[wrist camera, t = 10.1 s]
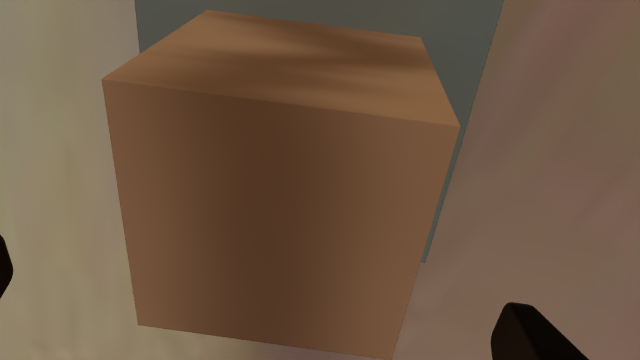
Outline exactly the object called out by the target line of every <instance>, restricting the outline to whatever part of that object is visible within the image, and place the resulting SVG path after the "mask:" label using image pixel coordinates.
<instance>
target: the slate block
mask: <svg viewBox="0 0 640 360" xmlns="http://www.w3.org/2000/svg"><path fill="white" fill-rule="evenodd" d="M503 2H504V0H135V10H136V20H137V29H138V39H139V49H140V54H141V53H142V52H144V51H145V50H147V49H148V48H150V47H151V46H153V45H154V44H156V43H157V42H159V41H160V40H162V39H163V38H165V37H166V36H168V35H169V34H171V33H172V32H174V31H175V30H177V29H179V28H180V27H182V26H183V25H185V24H186V23H188V22H189V21H191V20H192V19H194V18H195V17H197V16H198V15H200V14H201V13H203V12H204V11H206V10H213V11H221V12H229V13H236V14H244V15H252V16H260V17H267V18H275V19H283V20H290V21H298V22H306V23H313V24H321V25H329V26H337V27H344V28H352V29H360V30H367V31H375V32H383V33H390V34H398V35H406V36H413V37H421V40H422V42H423V44H424V46H425V49H426V51H427V53H428V55H429V57H430V60H431V62H432V64H433V66H434V69H435V71H436V73H437V75H438V78H439V80H440V82H441V84H442V86H443V89H444V91H445V93H446V95H447V98H448V100H449V102H450V104H451V107H452V109H453V111H454V113H455V115H456V118H457V120H458V122H459V124H460V130H459V133H458V137H457V140H456V144H455V147H454V150H453V154H452V157H451V160H450V164H449V167H448V171H447V174H446V177H445V181H444V184H443V188H442V191H441V194H440V198H439V201H438V205H437V208H436V211H435V215H434V218H433V221H432V225H431V228H430V232H429V235H428V238H427V242H426V245H425V249H424V252H423V255H422V259H421V262H423V263H425V262H426V258H427V255H428V252H429V249H430V245H431V242H432V239H433V235H434V232H435V229H436V225H437V222H438V219H439V215H440V212H441V209H442V205H443V202H444V199H445V195H446V192H447V189H448V185H449V182H450V179H451V175H452V172H453V169H454V165H455V162H456V159H457V155H458V152H459V149H460V145H461V142H462V139H463V135H464V132H465V129H466V125H467V122H468V119H469V115H470V112H471V109H472V105H473V102H474V99H475V95H476V92H477V89H478V86H479V82H480V79H481V76H482V72H483V69H484V66H485V62H486V59H487V56H488V52H489V49H490V46H491V42H492V39H493V36H494V32H495V29H496V26H497V22H498V19H499V16H500V12H501V9H502V6H503Z"/></svg>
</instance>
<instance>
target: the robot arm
mask: <svg viewBox="0 0 640 360" xmlns="http://www.w3.org/2000/svg"><path fill="white" fill-rule="evenodd" d="M12 275H13V265H12V262H11V259H10V256H9V253H8V250H7V247H6V244H5V241H4V239H3V237H2V236H1V235H0V298H1V297H2V295H3V293H4V292H5V290H6V288H7V287H8V285H9V283H10V281H11V279H12ZM491 351H492V359H493V360H589V359H588V358H587V357H586V356H584V355H583V354H582V353H581V352H580V351H579V350H578V349H577V348H576V347H575V346H574V345H573V344H572V343H571V342H570V341H569V340H568V339H567V338H566V337H565V336H564V335H563V334H562V333H561V332H560V331H558V330H557V329H556V328H555V327H554V326H553V325H552V324H551V323H550V322H549V321H548V320H547V319H546V318H545V317H544V316H543V315H542V314H541V313H540V312H539V311H538V310H537V309H536V308H534V307H533V306H531V305H528V304H521V303H514V302H510V303H507V304H506V305H505V306H504V308H503V310H502V312H501V314H500V317H499V319H498V321H497V323H496V325H495V328H494V330H493V332H492V336H491Z"/></svg>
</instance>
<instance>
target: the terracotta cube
mask: <svg viewBox="0 0 640 360" xmlns="http://www.w3.org/2000/svg"><path fill="white" fill-rule="evenodd" d="M102 85H103V92H104V98H105V105H106V112H107V119H108V125H109V132H110V139H111V146H112V152H113V159H114V166H115V173H116V179H117V186H118V193H119V200H120V206H121V213H122V220H123V227H124V233H125V240H126V247H127V254H128V260H129V267H130V274H131V281H132V287H133V294H134V301H135V308H136V314H137V321H138V325H142V326H149V327H156V328H163V329H170V330H178V331H185V332H192V333H199V334H206V335H214V336H221V337H228V338H235V339H242V340H250V341H257V342H264V343H271V344H278V345H286V346H293V347H300V348H307V349H314V350H322V351H329V352H336V353H343V354H350V355H357V356H365V357H372V358H379V359H386V360H392V357H393V354H394V350H395V347H396V343H397V340H398V337H399V333H400V330H401V327H402V323H403V320H404V316H405V313H406V310H407V306H408V303H409V299H410V296H411V293H412V289H413V286H414V282H415V279H416V276H417V272H418V269H419V266H420V262H421V259H422V255H423V252H424V249H425V245H426V242H427V238H428V235H429V232H430V228H431V225H432V221H433V218H434V215H435V211H436V208H437V205H438V201H439V198H440V194H441V191H442V188H443V184H444V181H445V177H446V174H447V171H448V167H449V164H450V160H451V157H452V154H453V150H454V147H455V144H456V140H457V137H458V133H459V130H460V124H459V122H458V120H457V118H456V115H455V113H454V111H453V109H452V107H451V104H450V102H449V100H448V98H447V95H446V93H445V91H444V89H443V86H442V84H441V82H440V80H439V78H438V75H437V73H436V71H435V69H434V66H433V64H432V62H431V60H430V57H429V55H428V53H427V51H426V49H425V46H424V44H423V42H422V40H421V37H413V36H406V35H398V34H390V33H383V32H375V31H367V30H360V29H352V28H344V27H337V26H329V25H321V24H313V23H306V22H298V21H290V20H283V19H275V18H267V17H260V16H252V15H244V14H236V13H229V12H221V11H213V10H206V11H204V12H203V13H201V14H200V15H198V16H197V17H195V18H194V19H192V20H191V21H189V22H188V23H186V24H185V25H183V26H182V27H180V28H179V29H177V30H175V31H174V32H172V33H171V34H169V35H168V36H166V37H165V38H163V39H162V40H160V41H159V42H157V43H156V44H154V45H153V46H151V47H150V48H148V49H147V50H145V51H144V52H142V53H141V54H139V55H138V56H136V57H135V58H133V59H131V60H130V61H128V62H127V63H125V64H124V65H122V66H121V67H119V68H118V69H116V70H115V71H113V72H112V73H110V74H109V75H107V76H106V77H104V78H103V79H102Z"/></svg>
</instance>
